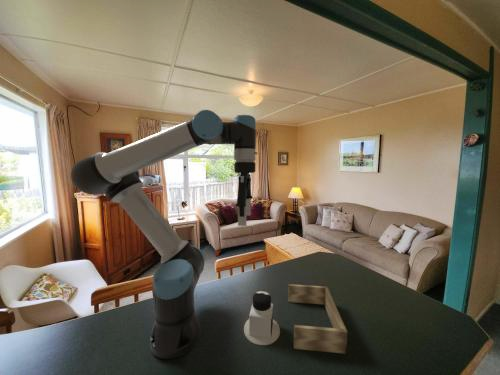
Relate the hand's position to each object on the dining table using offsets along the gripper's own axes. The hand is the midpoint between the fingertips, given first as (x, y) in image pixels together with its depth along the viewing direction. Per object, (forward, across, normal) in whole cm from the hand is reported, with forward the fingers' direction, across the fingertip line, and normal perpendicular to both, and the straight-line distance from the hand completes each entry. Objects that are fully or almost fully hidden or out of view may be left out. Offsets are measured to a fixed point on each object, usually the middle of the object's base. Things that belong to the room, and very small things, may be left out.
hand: (244, 219), depth 75 cm
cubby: (+35, -5, -24) cm, 42 cm away
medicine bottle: (+34, -10, -7) cm, 37 cm away
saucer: (+35, -10, -7) cm, 37 cm away
